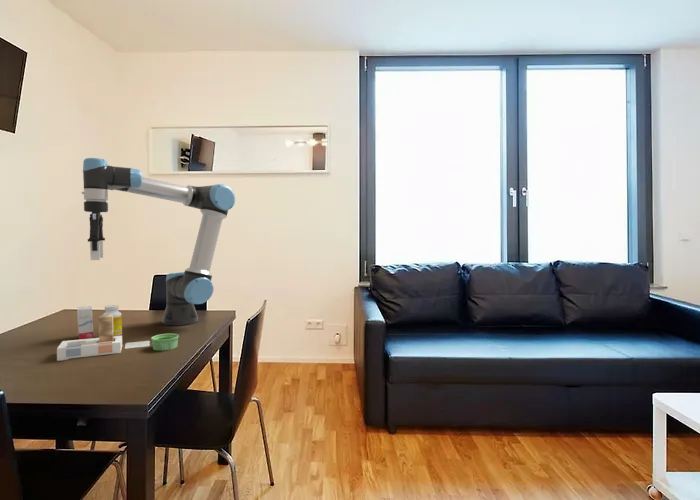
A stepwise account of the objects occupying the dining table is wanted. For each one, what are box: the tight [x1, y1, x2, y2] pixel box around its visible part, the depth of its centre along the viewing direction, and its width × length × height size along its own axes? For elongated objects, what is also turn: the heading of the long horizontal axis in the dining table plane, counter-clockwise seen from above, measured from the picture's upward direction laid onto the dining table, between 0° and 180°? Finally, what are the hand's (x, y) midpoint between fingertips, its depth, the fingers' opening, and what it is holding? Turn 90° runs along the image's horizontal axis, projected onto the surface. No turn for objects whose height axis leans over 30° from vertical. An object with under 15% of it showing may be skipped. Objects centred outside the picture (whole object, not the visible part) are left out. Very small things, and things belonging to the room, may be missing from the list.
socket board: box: [56, 335, 123, 362], centre depth 142 cm, size 18×10×4 cm, turn 116°
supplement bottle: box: [102, 304, 123, 337], centre depth 161 cm, size 7×7×13 cm
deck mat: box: [124, 340, 151, 350], centre depth 152 cm, size 8×8×1 cm
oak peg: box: [98, 314, 114, 342], centre depth 144 cm, size 4×4×12 cm
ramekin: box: [150, 333, 179, 352], centre depth 148 cm, size 9×9×4 cm
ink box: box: [76, 305, 94, 340], centre depth 162 cm, size 9×5×12 cm, turn 34°
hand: (97, 258), depth 152 cm, fingers open, 13 cm apart
